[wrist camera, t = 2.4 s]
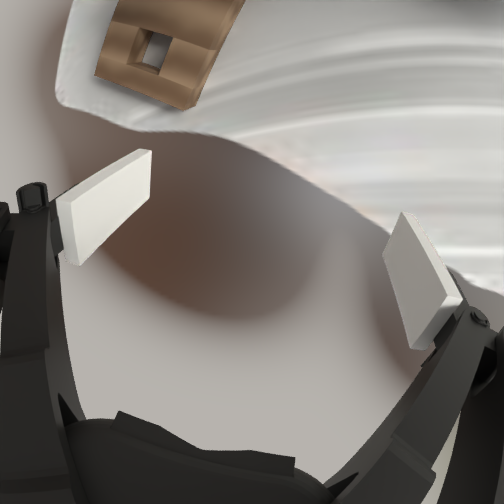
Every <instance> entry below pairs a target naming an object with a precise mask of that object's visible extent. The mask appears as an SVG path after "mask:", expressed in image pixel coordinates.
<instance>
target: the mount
mask: <svg viewBox="0 0 504 504" xmlns="http://www.w3.org/2000/svg"><path fill="white" fill-rule="evenodd" d="M244 2H245V0H119V2H118V4H117V7H116V9H115V12H114V14H113V17H112V20H111V23H110V25H109V28H108V31H107V34H106V37H105V40H104V43H103V46H102V50H101V53H100V56H99V60H98V63H97V67H96V70H95V74H94V76H97V77H100V78H103V79H105V80H108V81H111V82H114V83H116V84H119V85H122V86H124V87H127V88H129V89H132V90H135V91H137V92H140V93H142V94H145V95H147V96H150V97H152V98H154V99H157V100H159V101H162V102H164V103H166V104H169V105H171V106H173V107H176V108H178V109H180V110H182V111H184V110H187V109H189V108H191V107H194V106H196V103H197V101H198V99H199V96H200V94H201V91H202V89H203V87H204V84H205V82H206V80H207V78H208V75H209V73H210V71H211V69H212V66H213V64H214V62H215V60H216V58H217V56H218V53H219V51H220V49H221V47H222V45H223V43H224V41H225V39H226V37H227V35H228V33H229V31H230V29H231V27H232V25H233V23H234V21H235V19H236V17H237V15H238V13H239V12H240V10H241V8H242V6H243V4H244ZM153 31H154V32H157V33H161V34H164V35H167V36H170V37H173V40H172V42H171V44H170V47H169V49H168V52H167V54H166V57H165V59H164V62H163V65H162V67H161V69H160V68H157V67H154V66H151V65H149V64H146V63H143V62H142V59H143V57H144V54H145V51H146V48H147V46H148V43H149V41H150V38H151V35H152V33H153Z"/></svg>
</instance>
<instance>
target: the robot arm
mask: <svg viewBox="0 0 504 504" xmlns="http://www.w3.org/2000/svg"><path fill="white" fill-rule="evenodd" d="M151 156H152V151H151V150H145V149H138V150H136V151H134V152H132V153H130V154H128V155H127V156H125V157H123V158H121V159H119V160H118V161H116V162H114V163H112V164H111V165H109V166H108V167H106V168H104V169H102V170H100V171H99V172H97V173H95V174H94V175H92V176H91V177H89V178H87V179H86V180H84V181H83V182H81V183H78V184H76V185H74V186H73V187H71V188H70V189H69V190H67V191H65V192H64V193H63V194H61V195H59V196H58V197H56V198H55V199H53V200H52V201H51V202H49V201H48V193H47V186H46V184H45V183H41V182H35V183H30V184H27V185H24V186H22V187H21V188H19V189H18V190H17V191H16V195H17V202H18V207H19V213H10V211H9V206H8V203H6V202H0V313H1V310H2V322H1V348H0V351H1V352H0V504H421V502H422V501H423V499H424V498H425V496H426V495H427V493H428V491H429V490H430V488H431V486H432V485H433V483H434V481H435V478H436V473H435V472H434V471H433V470H431V468H432V466H433V464H434V462H435V460H436V459H437V457H438V455H439V453H440V451H441V450H442V448H443V446H444V444H445V442H446V440H447V438H448V436H449V434H450V432H451V430H452V428H453V426H454V424H455V422H456V419H457V418H458V415H459V413H460V411H461V413H460V419H459V424H458V430H457V434H456V439H455V443H454V448H453V452H452V456H451V460H450V463H449V467H448V471H447V474H446V477H445V481H444V484H443V487H442V490H441V493H440V496H439V499H438V502H437V504H504V327H503V328H502V329H501V330H500V332H499V333H497V332H495V331H493V330H491V329H490V324H489V321H488V319H487V318H486V316H485V315H484V314H483V313H482V312H481V311H480V310H478V309H477V308H475V307H471V306H469V304H468V302H467V300H466V298H465V297H464V295H463V293H462V291H461V290H460V287H459V285H458V284H457V281H456V279H455V278H454V276H453V274H451V272H450V271H449V270H448V269H447V268H446V267H445V265H444V263H443V261H442V260H441V258H440V256H439V254H438V253H437V251H436V249H435V248H434V246H433V244H432V243H431V241H430V239H429V238H428V236H427V235H426V233H425V231H424V230H423V228H422V227H421V225H420V224H419V222H418V221H417V219H416V218H415V216H414V215H412V214H409V213H406V212H403V211H401V214H400V216H399V218H398V221H397V223H396V225H395V228H394V230H393V232H392V234H391V237H390V239H389V241H388V243H387V246H386V248H385V250H384V252H383V254H382V255H383V258H384V261H385V264H386V267H387V270H388V273H389V276H390V279H391V283H392V286H393V289H394V292H395V295H396V299H397V302H398V306H399V309H400V312H401V316H402V320H403V323H404V327H405V331H406V335H407V338H408V342H409V347H410V349H416V350H423V351H425V350H426V349H427V348H428V347H429V345H430V344H431V343H432V342H433V340H434V343H435V346H436V348H435V349H434V351H433V352H432V353H431V354H430V356H429V357H428V358H427V359H426V361H424V363H423V364H422V365H421V367H422V369H421V371H420V372H419V373H418V375H417V376H416V378H415V379H414V381H413V382H412V384H411V385H410V387H409V388H408V389H407V391H406V392H405V394H404V395H403V396H402V398H401V399H400V400H399V402H398V403H397V404H396V406H395V407H394V408H393V410H392V411H391V412H390V414H389V415H388V416H387V417H386V419H385V420H384V421H383V422H382V424H381V425H380V426H379V428H378V429H377V430H376V431H375V432H374V433H373V435H372V436H371V437H370V438H369V439H368V440H367V442H366V443H365V444H364V445H363V446H362V447H361V448H360V449H359V451H358V452H357V453H356V454H355V455H354V456H353V457H352V458H351V459H350V460H349V461H348V462H347V463H346V464H345V466H344V467H343V468H342V469H341V470H339V472H337V473H336V474H335V475H334V476H332V477H331V478H330V479H329V480H327V481H326V482H325V483H324V484H322V483H320V482H319V481H318V480H317V479H315V478H314V477H312V476H311V475H309V474H308V473H305V472H304V471H302V470H300V469H297V468H295V467H294V465H295V457H290V456H282V455H276V454H270V453H264V452H258V451H252V450H242V451H214V450H211V451H210V450H202V449H199V448H196V447H195V446H193V445H191V444H190V443H188V442H186V441H184V440H182V439H181V438H179V437H177V436H176V435H174V434H172V433H170V432H169V431H167V430H165V429H164V428H162V427H161V426H159V425H156V424H153V423H150V422H147V421H145V420H142V419H139V418H136V417H134V416H131V415H129V414H126V413H124V412H121V411H118V413H117V415H116V417H115V419H101V418H100V419H88V420H86V417H85V415H84V413H83V410H82V408H81V405H80V402H79V398H78V394H77V390H76V386H75V381H74V377H73V372H72V367H71V361H70V357H69V350H68V344H67V338H66V331H65V324H64V315H63V307H62V296H61V283H60V265H59V258H58V253H60V252H61V251H62V250H64V254H65V259H66V261H67V262H69V263H72V264H75V265H78V266H81V265H82V263H83V262H84V261H85V260H86V259H87V258H88V257H89V256H90V255H91V254H92V253H93V252H94V251H95V250H96V249H97V248H98V247H99V246H100V245H101V244H102V243H103V242H104V241H105V239H107V238H108V237H109V236H110V235H111V234H112V233H113V232H114V231H115V230H116V229H117V228H118V227H119V226H120V225H121V224H122V223H123V222H124V221H125V220H126V219H127V218H128V217H129V216H131V215H132V214H133V213H134V212H135V211H136V210H137V209H138V208H139V207H140V206H141V205H142V204H143V203H144V202H146V201H147V200H148V199H149V197H150V174H151ZM2 307H3V309H2Z"/></svg>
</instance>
